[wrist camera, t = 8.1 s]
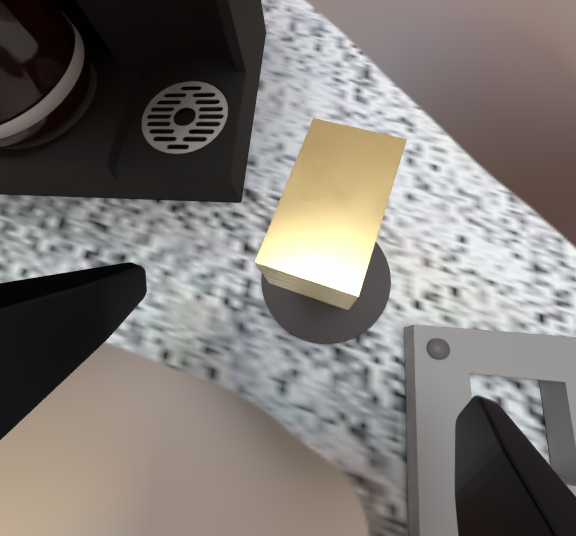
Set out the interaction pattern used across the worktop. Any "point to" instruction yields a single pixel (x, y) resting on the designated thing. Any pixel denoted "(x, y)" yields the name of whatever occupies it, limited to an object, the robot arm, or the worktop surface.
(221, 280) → the worktop surface
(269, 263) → the t key
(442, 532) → the slot plate
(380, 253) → the rubber mat
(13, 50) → the coffee maker
